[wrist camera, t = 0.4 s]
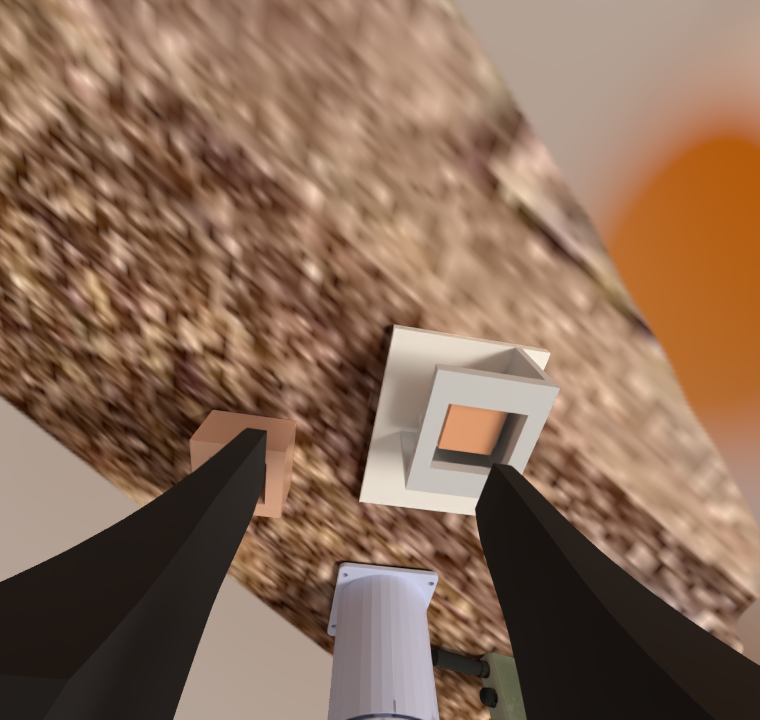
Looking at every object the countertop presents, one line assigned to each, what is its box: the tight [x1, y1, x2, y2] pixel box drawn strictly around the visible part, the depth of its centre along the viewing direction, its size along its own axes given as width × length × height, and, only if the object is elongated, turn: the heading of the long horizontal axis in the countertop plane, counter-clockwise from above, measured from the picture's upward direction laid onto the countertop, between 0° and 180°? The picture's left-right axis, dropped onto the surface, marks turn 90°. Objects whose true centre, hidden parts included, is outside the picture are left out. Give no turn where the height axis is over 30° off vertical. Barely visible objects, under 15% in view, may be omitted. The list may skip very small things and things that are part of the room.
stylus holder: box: [190, 410, 296, 518], centre depth 22 cm, size 5×5×3 cm
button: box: [437, 404, 507, 455], centre depth 19 cm, size 3×3×2 cm
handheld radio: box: [431, 648, 527, 720], centre depth 33 cm, size 7×3×25 cm
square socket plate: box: [359, 325, 560, 515], centre depth 20 cm, size 13×9×5 cm
